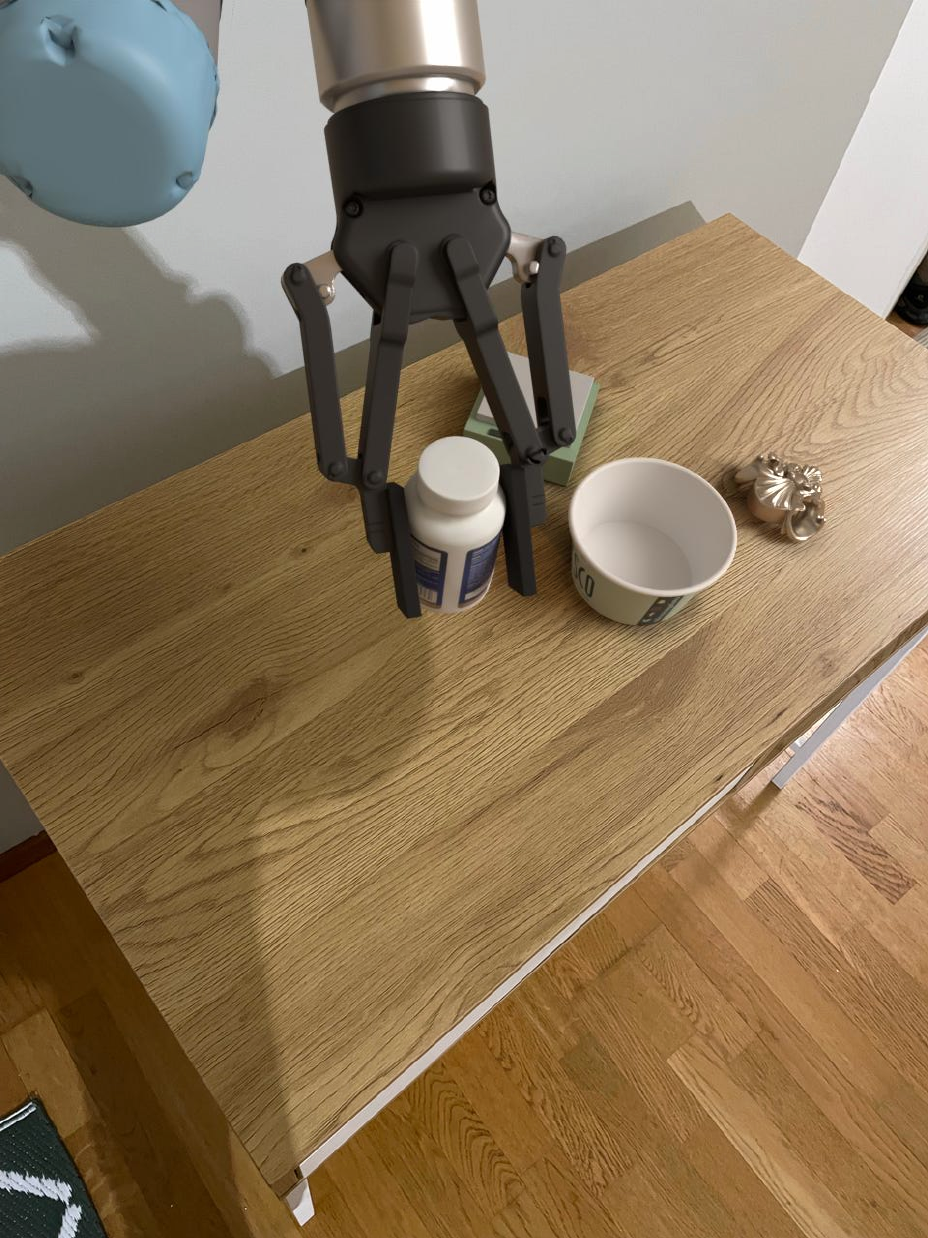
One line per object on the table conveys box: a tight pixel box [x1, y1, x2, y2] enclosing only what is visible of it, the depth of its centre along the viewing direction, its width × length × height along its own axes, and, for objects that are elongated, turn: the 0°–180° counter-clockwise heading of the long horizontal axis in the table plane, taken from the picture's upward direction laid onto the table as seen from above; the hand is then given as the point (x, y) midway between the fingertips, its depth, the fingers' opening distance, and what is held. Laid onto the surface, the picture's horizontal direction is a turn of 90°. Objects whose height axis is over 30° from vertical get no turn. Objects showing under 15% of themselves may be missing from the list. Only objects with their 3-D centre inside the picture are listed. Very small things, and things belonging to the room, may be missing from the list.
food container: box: [567, 456, 738, 626], centre depth 68 cm, size 12×12×6 cm
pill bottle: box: [403, 435, 506, 615], centre depth 49 cm, size 5×5×10 cm
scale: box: [462, 351, 601, 487], centre depth 76 cm, size 9×9×4 cm
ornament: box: [734, 451, 827, 543], centre depth 74 cm, size 8×7×4 cm
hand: (466, 599), depth 49 cm, fingers closed on pill bottle, 5 cm apart
